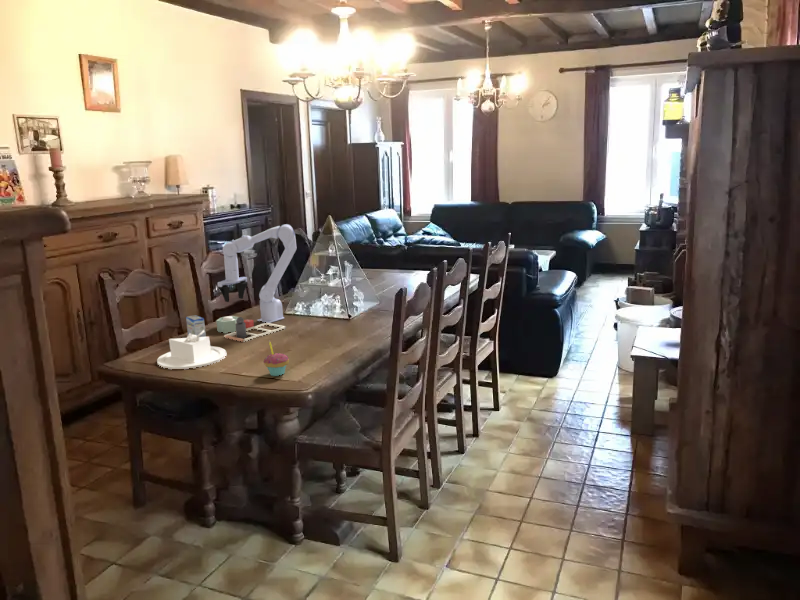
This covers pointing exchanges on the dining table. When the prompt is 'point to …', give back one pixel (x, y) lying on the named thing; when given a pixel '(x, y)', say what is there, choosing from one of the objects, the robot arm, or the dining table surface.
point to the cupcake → (276, 362)
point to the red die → (249, 323)
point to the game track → (255, 334)
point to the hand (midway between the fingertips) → (234, 300)
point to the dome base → (226, 325)
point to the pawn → (240, 328)
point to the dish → (191, 353)
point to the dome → (228, 318)
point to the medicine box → (195, 325)
